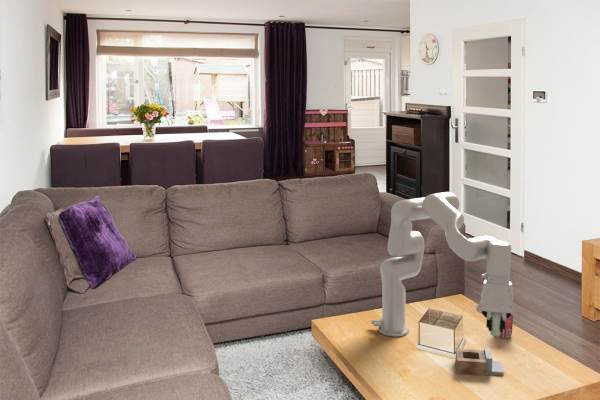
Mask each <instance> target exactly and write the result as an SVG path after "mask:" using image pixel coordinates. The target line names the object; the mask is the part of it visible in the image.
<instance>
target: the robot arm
mask: <svg viewBox="0 0 600 400" xmlns="http://www.w3.org/2000/svg"><path fill="white" fill-rule="evenodd" d="M459 207H460V200H459V198H458V197H457V195H456V194H455V193H453V192H450V191H444V192H436V193H431V194H428V195H426V196H424V197H414V198H409V199H408V198H407V199H401V200H398V201H396V202H394V204H393V205H392V206H391V212H390V219H391V220H390V228H389V235H388V240H387V253H388V254H389V255H390V256H391V257H390V258H387V259H385V260H383V261H382V262H381V264H380V267H379V271H380V276H381V277H380V278H381V286H382V287H381V289H382V292H381V293H382V295H381V297H382V299H381V301H382V303H381V304H382V307H381V308H382V309H381V310H382V311H381V313H382V315H381V318H380V319H371V325H373V326H374V327H378V328H377V329H378V333H380V334H382V335H384V336H388V337H403V336H405V335H408V334H409V332H410V330H409V327H408V326H407V325H406V294H407V293H406V291H407V290H406V287H405V285H404V284H403V283H402V280H405V279H410V278H414V277H416V276H417V275H419V274H420V272H421V269H422V263H423V259H424V253H425V248H426V247H425V245H426V244H425V239H424V237H423V235H422V234H421V232H419V231H416V230H413V222H412V221H419V220H428V219H431V220H432V221H433V222H434V223H436V224H437V225H438V226H439V227H440V228H441V229H442V230H443V231H444V235H445V239H446V243H447V246H448V248H450V249H451V250H452V251H453V253H455V254H456V255H457V256H458V257H459V258H460V259H462V260H464V261H465V262H466V261H467V262H475V261H479V260H482V259H483V260H484V259H486V271H485V273H482V274H481V278H482V279H484V280H483V283H482V288H481V296H480V301H479V303H478V304H477V305H476V308H475V309H476V312H478V313H479V314H481V315H483V316H484V318H486V328H487V329H488V331H489V332H490V331H491V325H492V320H491V312H494V313H502V316H501V326H500V331H501V332H503V329H505V321H506V319H507V318H509V317H510V316H511V315H513V316H514V315H515V314H517V313H518V311H517V309H516V306H515V304H514V287H513V283H512V282H511V263H512V245H511V244H510V243H509V242H507V241H504V240H498V239H496V238H495V237H493V236H490V235H482V236H477V237H471V238H467V237H466V236H464V235H463V234H462V233H461V232H460V231H459V230H460V229H461V228H462V226H463V224H464V221H465V218H464V215H463V213H462V212H460V211H459Z"/></svg>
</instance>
